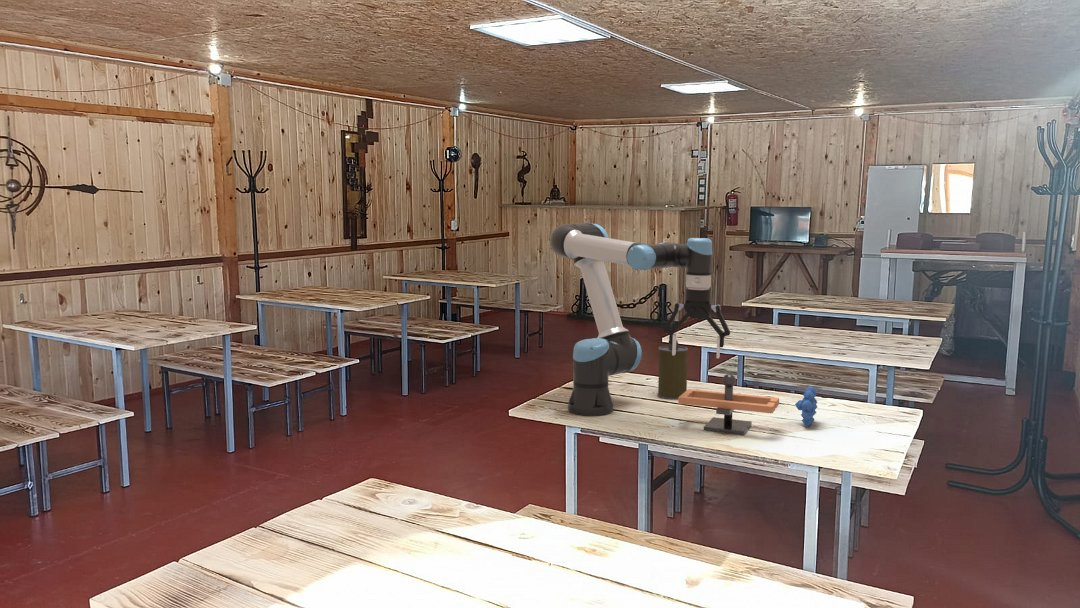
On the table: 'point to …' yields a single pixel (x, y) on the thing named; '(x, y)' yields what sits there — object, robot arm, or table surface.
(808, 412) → the grapes
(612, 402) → the robot arm
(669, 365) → the canister
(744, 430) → the stand
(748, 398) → the link
